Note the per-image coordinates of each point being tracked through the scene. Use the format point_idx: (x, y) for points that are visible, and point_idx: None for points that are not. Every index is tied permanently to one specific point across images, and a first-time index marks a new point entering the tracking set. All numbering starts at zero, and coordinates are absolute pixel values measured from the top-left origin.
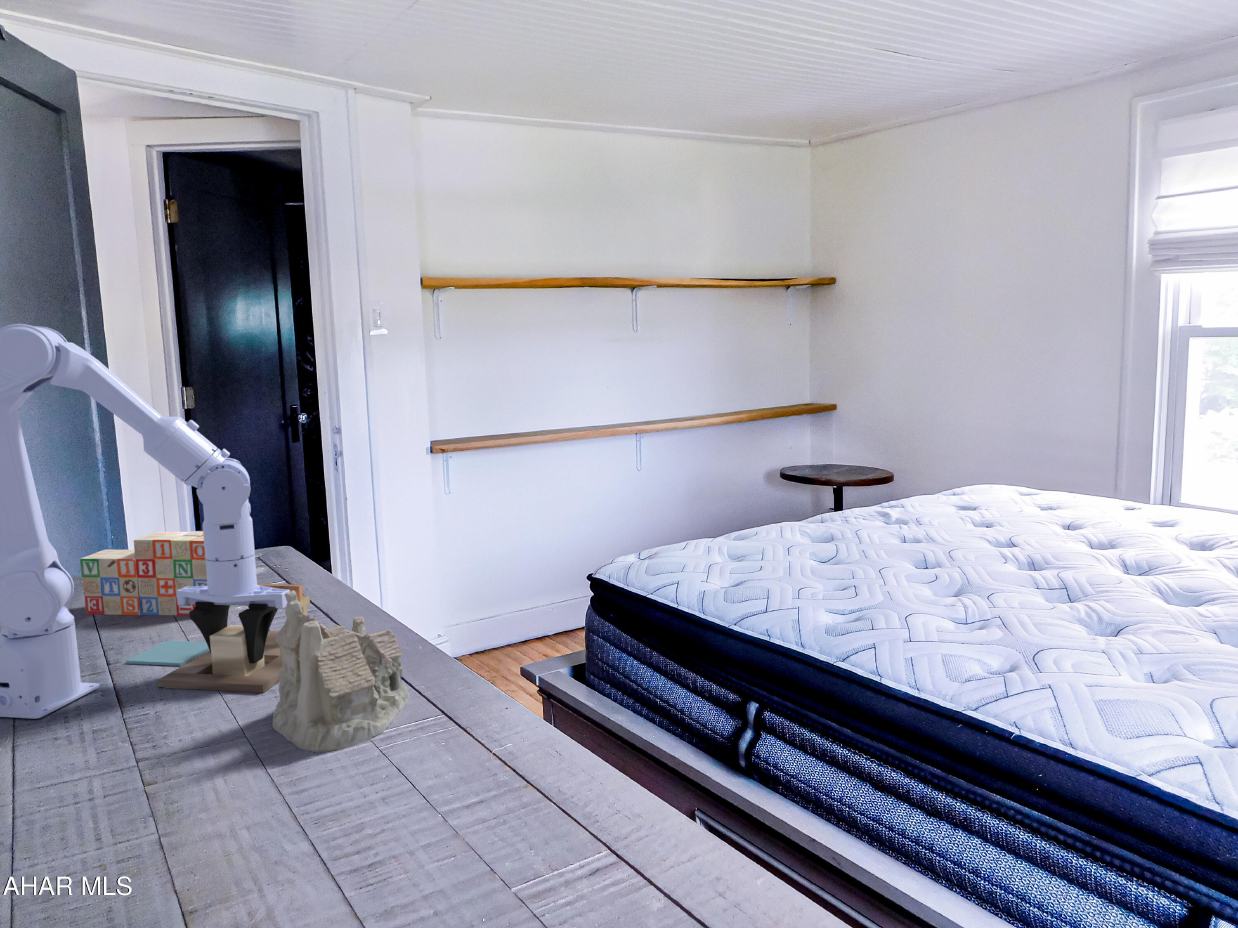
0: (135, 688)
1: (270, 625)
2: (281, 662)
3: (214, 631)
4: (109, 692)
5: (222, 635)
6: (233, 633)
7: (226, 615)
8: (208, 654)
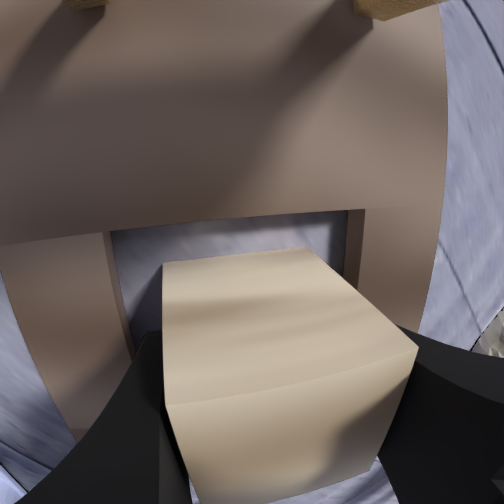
0: (47, 448)
1: (471, 352)
2: (396, 273)
3: (189, 501)
4: (24, 461)
5: (265, 497)
6: (306, 472)
7: (165, 499)
8: (20, 268)
